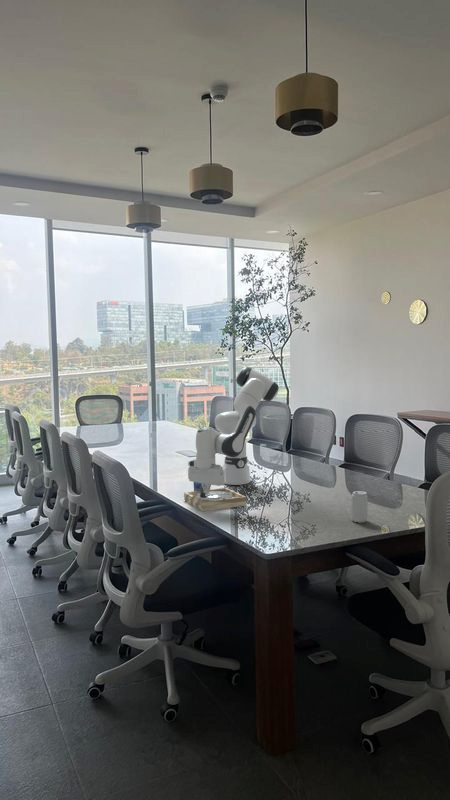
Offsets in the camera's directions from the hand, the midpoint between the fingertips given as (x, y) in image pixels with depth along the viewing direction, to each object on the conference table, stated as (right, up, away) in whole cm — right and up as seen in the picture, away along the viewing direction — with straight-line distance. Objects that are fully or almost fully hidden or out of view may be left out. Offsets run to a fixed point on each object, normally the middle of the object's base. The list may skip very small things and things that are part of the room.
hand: (206, 493), depth 269 cm
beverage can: (+63, -7, -28) cm, 70 cm away
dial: (+4, -4, +6) cm, 8 cm away
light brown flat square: (+4, -6, +6) cm, 9 cm away
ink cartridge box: (-3, -5, +23) cm, 23 cm away
